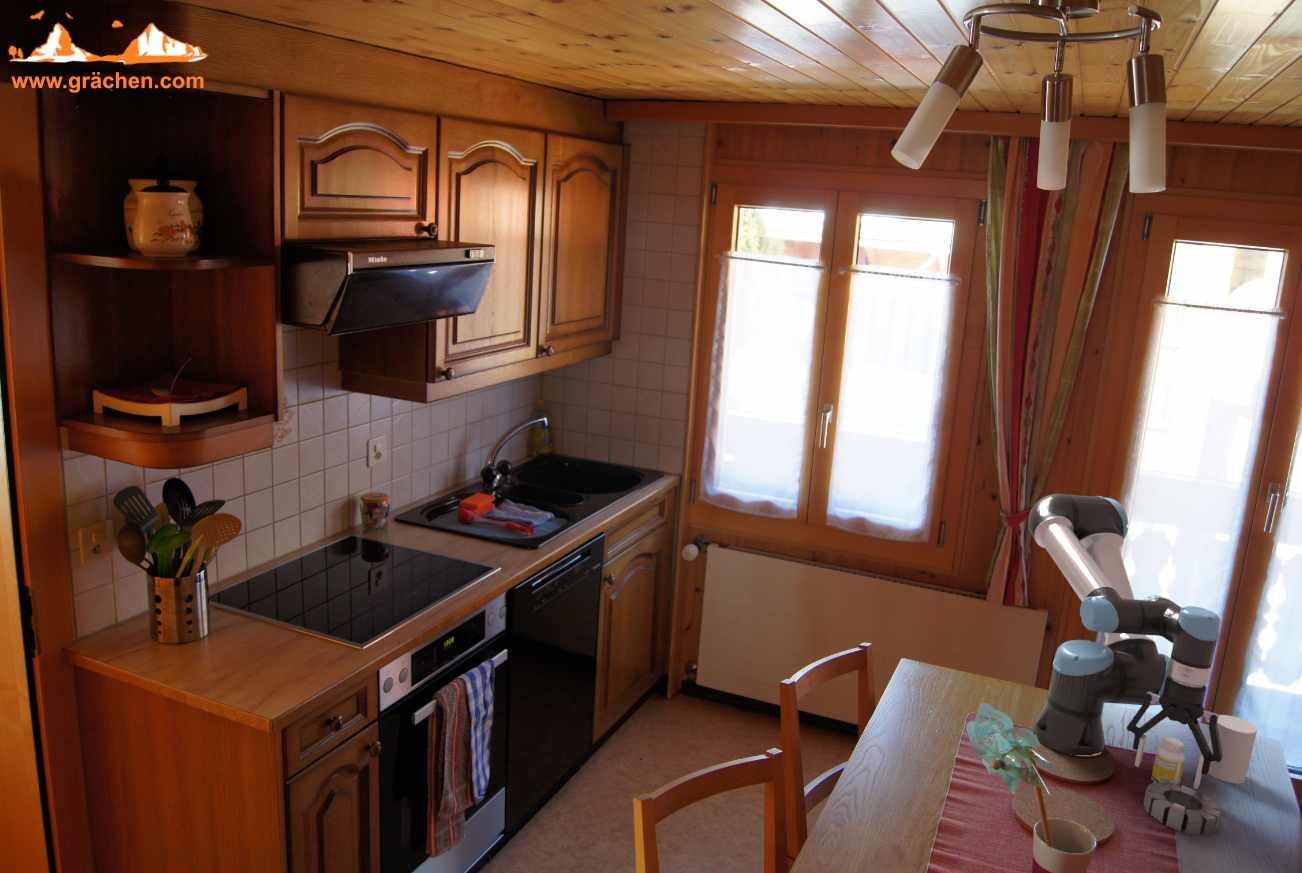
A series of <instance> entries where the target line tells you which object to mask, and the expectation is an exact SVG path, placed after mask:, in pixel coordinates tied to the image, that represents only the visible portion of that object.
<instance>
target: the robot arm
mask: <svg viewBox="0 0 1302 873" xmlns="http://www.w3.org/2000/svg"><path fill="white" fill-rule="evenodd" d="M1027 521H1028V530H1029V532H1030V535H1031V536H1032V538H1033V540H1034V541H1035V542H1036V544H1037V545H1038V546H1039V547H1041V548H1044V549H1045V550H1046V551H1047V552H1048V554H1049V556H1050V557H1051V559H1052V560H1053V562H1054V563H1055V564H1056V566H1057V568H1058V569H1059V570H1060V572H1061V573H1062V575H1063V576H1064V577H1065V579H1066V580H1067V582H1068V583H1069V585H1070V587H1072V589H1073V591H1074V592H1075V594H1076V595H1077V597H1078V598H1079V600H1081V604H1080V608H1079V614H1080V617H1081V623H1082V625H1083V626H1084V627H1085V628H1086V629H1087V630H1089V631H1092V632H1100V633H1102V634H1104V638H1105V642H1106V643H1105V644H1103V643H1100V642H1097V641H1091V640H1088V639H1074V640H1073V639H1072V640H1068V641H1065V642H1063V643H1061V644H1059V646H1058V648H1057V650H1056V652H1055V655H1054V659H1053V662H1052V671H1051V672H1052V673H1051V677H1050V683H1049V687H1048V693H1047V694H1048V695H1047V699H1046V703H1045V704H1044V706H1043V707H1042V709H1041V710H1040V712H1039V714H1038V715H1037V718H1036V719H1035V721H1034V725H1033V731H1032V732H1034V733H1035V734H1036V735H1037V737H1038V739H1039V740H1038V739H1037V740H1038V741H1039V742H1040V743H1041V744H1043V745H1045V746H1046V747H1048V748H1050V749H1051V750H1054V751H1056V752H1059V753H1063V754H1064V755H1065V754H1066V755H1068V754H1072V755H1092V754H1095V753H1099V752H1102V751H1103V752H1104V749H1105V743H1106V740H1105V739H1106V738H1105V734H1104V732H1105V731H1104V729H1103V728H1104V727H1103V720H1102V714H1103V713H1102V712H1103V710H1104V704H1120V705H1134V706H1140V707H1139V709H1138V711H1137V712H1136V713H1135V715H1134V716H1133V718H1132V719H1131V720H1130V722H1129V723H1128V725H1127V726H1126V730H1127V731H1128V732H1131V733H1132V734H1133V735H1134V738H1133V742H1132V750H1136V751H1137V752H1136V756H1135V762H1134V767H1136V768H1138V767H1139V766H1140V765H1141V764H1142V759H1143V755H1144V751H1145V750H1144V749H1145V747H1146V746H1145V745H1146V740H1147V735H1146V733H1147V732H1149V731H1150V730H1151V729H1153V728H1154V727H1155V726H1156V725H1158V724H1159V723H1160V722H1162V721H1163V720H1165V719H1166V718H1168V720H1170V721H1171V722H1172V721H1174V722H1177V723H1180V724H1182V725H1185V726H1186V725H1188V728H1189V730H1190V731H1191V733H1192V735H1193V738H1194V741H1195V742H1196V744H1197V746H1198V749H1199V751H1200V753H1201V755H1200V757H1199V760H1198V764H1197V769H1196V774H1195V778H1194V783H1193V786H1192V788H1193V789H1194V790H1195V789H1196V790H1198V788H1199V786H1200V784H1201V779H1202V775H1204V776H1207V775H1208V772H1209V768H1210V764H1211V762H1212V761H1216V762H1220V761H1221V759H1222V757H1223V754H1222V748H1221V742H1220V737H1219V731H1218V725H1217V722H1218V717H1219V715H1220V714H1219V713H1218V712H1217V711H1213V712H1211V711H1209V710H1206V709H1205V708H1204V700H1205V698H1206V697H1205V696H1206V692H1207V685H1208V683H1209V678H1210V675H1211V669H1212V663H1213V660H1214V656H1215V651H1216V646H1217V643H1218V639H1219V637H1220V625H1221V618H1220V617H1219V615H1218V614H1217V613H1215V612H1214V611H1212V610H1208V609H1206V608H1203V607H1199V606H1192V605H1187V606H1183V607H1181V606H1180V605H1178V604H1177V603H1176V602H1174V601H1173V600H1171V599H1169V598H1165V597H1164V596H1162V595H1157V594H1156V595H1151V596H1147V597H1145V598H1144V599H1135V597H1134V593H1133V590H1132V586H1131V584H1130V580H1129V577H1128V573H1127V571H1126V567H1125V563H1124V561H1123V558H1122V554H1121V551H1120V548H1121V547H1122V546H1123V544H1124V539H1125V538H1126V537H1127V534H1128V531H1129V528H1128V526H1127V525H1129V519H1128V515H1127V512H1126V510H1125V508H1124V507H1123V505H1122V504H1121V503H1120V502H1119V501H1117V500H1116V499H1113V498H1111V497H1104V496H1100V495H1094V496H1093V495H1092V496H1090V495H1089V496H1088V495H1077V494H1076V495H1075V494H1064V493H1052V494H1051V493H1050V494H1049V495H1046V496H1044V497H1042V498H1040V499H1039V500H1038V501H1037V502H1036V503H1034V505H1033V506H1032V508H1031V509H1030V513H1029V515H1028V520H1027ZM1148 636H1158V637H1162V638H1164V639H1165V640H1167V641H1168V642H1170V643H1171V644H1172V649H1171V652H1170V657H1169V656H1168V655H1166V654H1164V653H1160V652H1159V650H1158V647H1157V643H1156V641H1154V640H1153V639H1152V638H1150V637H1148ZM1150 706H1160V707H1161V710H1160V711H1158V713H1156V714H1155V715H1154V716H1152V717H1151V718H1150V719H1149V720H1148V721H1147V722H1145V723H1143V724H1142V725H1141V726H1140V727H1139V726H1137V725H1138V723H1139V722H1140V720H1141V719H1142V717H1143V716H1144V715H1145V713H1146V712H1147V710H1148V709H1149V708H1150ZM1201 717H1204V719H1205V722H1206V723H1208V731H1209V738H1210V737H1211V743H1212V749H1213V753H1211V751H1210V748H1209V746H1208V744H1209V743H1208V742H1207V740H1206V737H1205V736H1204V733H1203V731H1202V729H1201V727H1200V723H1199V722H1200V721H1199V720H1198V719H1200V718H1201ZM1034 733H1033V734H1034ZM1072 755H1071V756H1072Z"/></svg>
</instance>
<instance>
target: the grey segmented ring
mask: <svg viewBox="0 0 1302 873" xmlns="http://www.w3.org/2000/svg"><path fill="white" fill-rule="evenodd" d="M1196 791H1197V789H1196V790H1195V789H1194V788H1193V789H1192V788H1190V787H1187V786H1185V785H1181V787H1180V785H1179V786H1178V784H1174V783H1168V782H1164V784H1163V783H1162V782H1156V783H1154V782H1151V783H1150V784H1148V785H1147V787H1146V789H1145V794H1144V798H1143V804H1144V805H1143V806H1144V807H1145V808H1144V807H1143V808H1144V810H1145V809H1146V810H1147V811H1146V810H1145V811H1146V813H1147V812H1148V813H1151V814H1150V817H1151V816H1153V817H1154V818H1156V819H1157V820H1159V821H1160V822H1161V823H1162V822H1166V823H1165V826H1166V825H1167V826H1169V827H1168V828H1170V827H1171V828H1170V829H1172V828H1173V829H1172V830H1174V831H1178V832H1181V831H1183V833H1185V834H1187V835H1193V836H1194V835H1195V836H1200V835H1202V836H1209V835H1213V834H1214V833H1216V831H1217V828H1218V824H1219V820H1220V816H1221V808H1220V807H1219V806H1218V804H1216V802H1215V801H1212V798H1210V797H1208V796H1207V795H1205V794H1203V793H1202V792H1196ZM1148 813H1147V814H1148ZM1153 817H1152V818H1153ZM1154 818H1153V819H1154ZM1157 820H1156V821H1157ZM1160 822H1159V823H1160ZM1161 823H1160V824H1161ZM1162 824H1163V823H1162ZM1167 826H1166V827H1167Z"/></svg>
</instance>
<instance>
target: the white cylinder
mask: <svg viewBox="0 0 1302 873" xmlns="http://www.w3.org/2000/svg"><path fill="white" fill-rule="evenodd" d="M1217 725H1218V731H1219V737H1220V742H1221V748H1222V754H1223V757H1222V759H1221V761H1220V762H1216V761H1212V762H1211V764H1210V768H1209V772H1208V774H1209V775H1210V776H1211V777H1213V778H1215V779H1218V780H1219V781H1220V780H1221V781H1222V782H1226V783H1230V784H1231V783H1232V784H1243V783H1245V782H1246V778H1247V773H1248V770H1249V766H1250V761H1251V758H1252V753H1253V749H1254V744H1255V740H1256V736H1257V731H1258V729H1257V727H1256V726H1255V725H1254V724H1252V723H1251V722H1248V721H1247V720H1245V719H1242V718H1239V717H1236V716H1232V715H1226V714H1219V717H1218V722H1217ZM1207 744H1208V746H1209V748H1210V751H1211V753H1213V749H1212V743H1211V737H1210V736H1209V740H1208V743H1207ZM1208 774H1207V775H1208Z"/></svg>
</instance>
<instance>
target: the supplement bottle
mask: <svg viewBox="0 0 1302 873" xmlns="http://www.w3.org/2000/svg"><path fill="white" fill-rule="evenodd" d="M1183 750H1184V743H1183V742H1182V741H1181V740H1179V739H1177V738H1174V737H1168V736H1166V737H1163V738H1162V740H1161V746H1159V747H1158V748H1157V749H1156V752H1155V758H1154V761H1153V767H1152V772H1151V777H1150V778H1151V781H1152V780H1153V781H1154V782H1155V783H1156V782H1162V783H1163V784H1164V782H1168V783H1174V784H1178V786H1179V787H1180V784H1181V779H1182V776H1183V775H1182V774H1183V770H1184V764H1185V759H1186V757H1185V754H1184V753H1183ZM1153 781H1152V782H1153ZM1154 782H1153V783H1154Z"/></svg>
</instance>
